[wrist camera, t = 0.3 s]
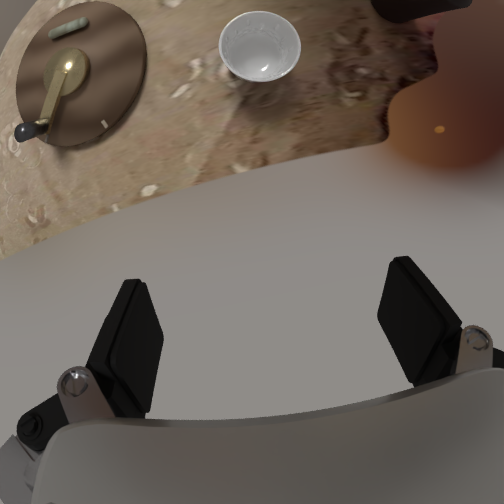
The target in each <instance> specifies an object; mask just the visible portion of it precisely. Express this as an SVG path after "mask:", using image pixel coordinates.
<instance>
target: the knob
mask: <svg viewBox="0 0 504 504" xmlns="http://www.w3.org/2000/svg"><path fill="white" fill-rule="evenodd" d="M89 68H90V63H89V58H88V56H87V54H86V53H85V52H84V51H83V50H81V49H77V48H72V47H67V48H63V49H61V50H59V51H57V52H56V53H55V54H54V55H53V56H52V57H51V58H50V60H49V61H48V63H47V65H46V67H45V70H44V76H43V80H44V85H45V88H46V90H47V91H48V93H47V96H46V99H45V102H44V105H43V109H42V112H41V115H40V119H37V120H33V121H29V122H25V123H22V124H19V125H17V127H16V128H15V132H14V136H15V139H16V141H17V142H24V141H26V140H29V139H32V138H35V137H38V136H40V135H43V134H44V135H47V134H49V133H50V130H51V126H52V123H53V120H54V116H55V113H56V110H57V107H58V104H59V101H60V98H61V96H66V95H70V94H73V93H75V92H76V91H77V90H79V89H80V88H81V87H82V85H83V84H84V82H85V81H86V79H87V76H88V73H89Z"/></svg>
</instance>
